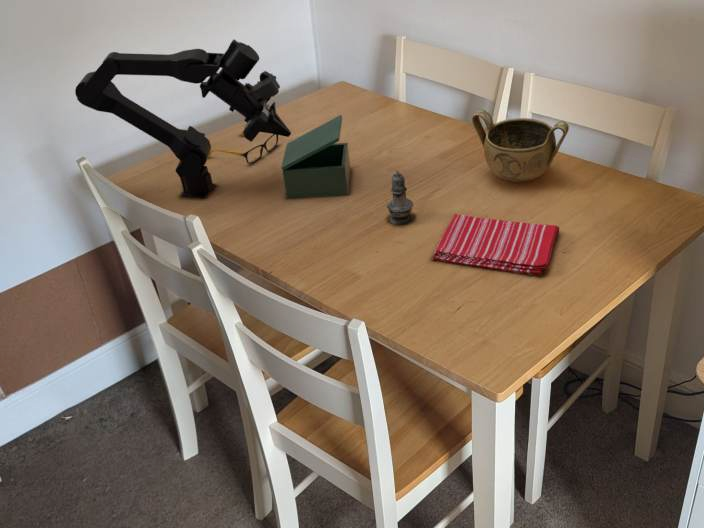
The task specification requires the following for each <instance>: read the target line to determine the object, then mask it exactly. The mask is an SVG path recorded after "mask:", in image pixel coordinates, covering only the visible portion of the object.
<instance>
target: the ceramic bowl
mask: <svg viewBox="0 0 704 528" xmlns="http://www.w3.org/2000/svg"><path fill="white" fill-rule="evenodd" d="M480 119H482V120H483V121H484V123H485V126H486V131H485V129H484V126H483V124H482V122H481V120H480ZM471 123H472V125H473V128H474V130H475V132H476V134H477V137H478V138H479V141H480V142H481V144H482V148H483V154H484V159H485V162H486V165H487V167H488V168H489V170H490V172H491V173H492V174H494V175H495V176H496V177H498V178H499V179H501V180H504V181H506V182H510V183H511V182H512V183H525V182H529V181H532V180H535V179H537V178H539V177H540V176H542V175H543V174H544V173H545V172H547V170H548V168H550V167H551V164H552V163H553V161H554V158H555V157H556V155H557V154H558V152H559V149H560V147H561V145H562V144H563V142H564V140H565V138H566V136H567V134H568V133H569V129H570V127H569V124H568V123H567V122H566V121H564V120H560V121H557V122H556V123H555V124H554V125H553V127H552V126H551V125H550V124H549V123H547V122H545V121H543V120H539V119H535V118H530V117H528V118H527V117H516V118H508V119H505V120H501V121H497V122H496V123H494V119H493V117H492V115H491V114H490V113H489V111H488V110H486V109H483V108H480V109H477V110H476V112H475V113H474V114H473V115H472V119H471ZM556 130H560V131H562V136H560V138H559V140H558V142H557V140H556V139H557V138H556V135H555V131H556Z"/></svg>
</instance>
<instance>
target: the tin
mask: <svg viewBox="0 0 704 528" xmlns="http://www.w3.org/2000/svg"><path fill="white" fill-rule="evenodd" d="M349 154H350V153H349V143H348V142H336V143H334V144H332V145H331V146H329V147H327V148H325V149H323V150H321V151H319V152H317V153H315V154H313V155H312V156H310V157H308V158H306V159H304V160H302V161H300V162H298V163H296V164H294V165H293V166H291V167H289V168H287V169H285V170H282V178H283V183H284V189H285V194H286V199H300V198H302V199H303V198H318V197H334V196H348V195H349V189H350V179H351V163H350V162H351V161H350V155H349Z"/></svg>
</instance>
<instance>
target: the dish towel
mask: <svg viewBox="0 0 704 528" xmlns="http://www.w3.org/2000/svg"><path fill="white" fill-rule="evenodd" d="M559 233H560V226H559V225H555V224H539V223H533V222H532V223H531V222H522V221H514V220H513V221H512V220H505V219H504V220H503V219H495V218H494V219H493V218H487V217H480V216H479V217H478V216H471V215H467V214H458V213H457V214H456V213H454V214H453V216H452V219H451V220H450V222H449V224H448V226H447V227H446V229H445V231H444V233H443V235H442V236H441V238H440V241H439V242H438V244H437V246H436V247H435V250H434V252H433V254H432V256H431V259H432V260H434V261H440V262H445V263H451V264H452V263H454V264H461V265H465V266H473V267H479V268H486V269H490V270H491V269H492V270H500V271H505V272H506V271H507V272H512V273H517V274H526V275H533V276H538V277H539V276H540V277H541V276H542V274H543V271H544V270H545V269H546V268H547V267H548V264H549V262H550V259H551V256H552V250H553V247H554V244H555V242H556V239H557V236H558V235H559Z"/></svg>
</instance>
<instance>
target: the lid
mask: <svg viewBox="0 0 704 528" xmlns="http://www.w3.org/2000/svg"><path fill="white" fill-rule="evenodd" d="M342 123H343V116H342V115H341V114H339V115H337V116H336V117H333V118H332V119H330V120H328V121H326V122H324V123H323V124H321V125H319V126H317V127H315V128H313V129H311V130H310V131H308V132H306V133H303V134H302V135H300V136H299V137H298V136H297V138H295V139H293V140H290V141H289V142H287V143H286V147H285V150H284V154H283V159H282V163H281V167H280V168H281V170H282V171H283V170H285V169H287V168H289V167H291V166H293V165H294V164H296V163H298V162H300V161H302V160H304V159H306V158H308V157H310V156H312V155H313V154H315V153H317V152H319V151H321V150H323V149H325V148H327V147H329V146H331V145H332V144H336V143H339V142H340V138H341V131H342Z"/></svg>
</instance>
